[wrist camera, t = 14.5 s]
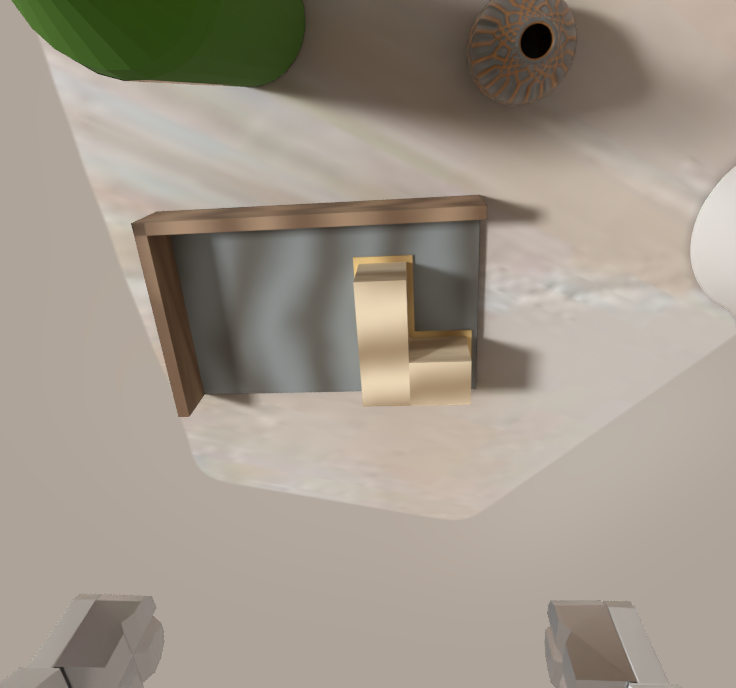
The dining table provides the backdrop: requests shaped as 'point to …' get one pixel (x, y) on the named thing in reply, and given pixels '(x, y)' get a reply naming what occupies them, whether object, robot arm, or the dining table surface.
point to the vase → (521, 49)
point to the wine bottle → (174, 38)
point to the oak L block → (403, 347)
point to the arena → (299, 288)
